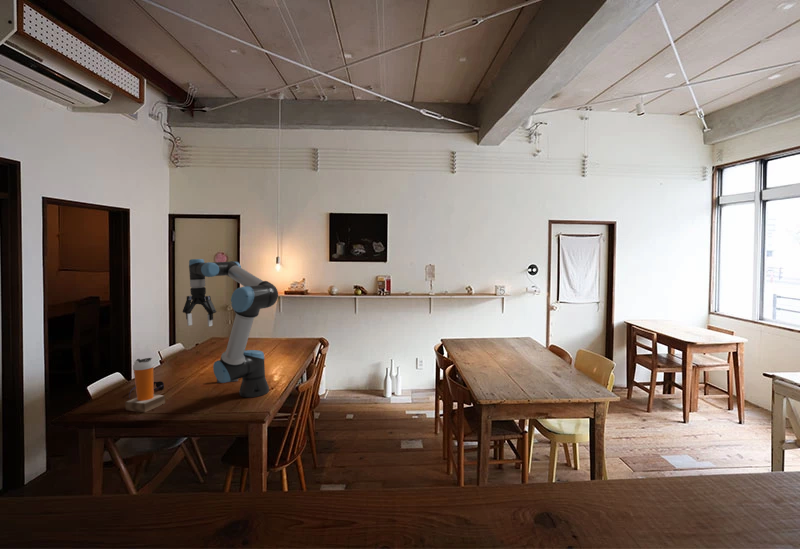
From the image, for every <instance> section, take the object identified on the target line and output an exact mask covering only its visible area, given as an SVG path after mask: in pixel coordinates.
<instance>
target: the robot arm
mask: <svg viewBox="0 0 800 549" xmlns="http://www.w3.org/2000/svg"><path fill="white" fill-rule="evenodd" d="M188 264H189V265H188V269H189V271H188V272H189V287H190V295H187V296H186V300H185V304H184V306H183V309H182V313H184V314H185V318H186V323H187V327H189V326H193V313H192V311H193V309H194V308H195V306H197V305H201V306H202V307H203V309H204V310H205V311H206V312H207V313H208V314H207V315H206V316H207V327H212V326H213V325H214V324H213V320H214V314H215V313H217V310H216V308H215V306H214V304H213V302H212V299H211V295H206V293H207V289H206V278H207V277H208V278H213V277H221V276H222V277H224V276H227V277H229V278H230V279H231V280H233V281H235V282H236V283H238V284H240V285H242V286H240V287H238V288H236V289H235V290H233V292H232V295H231V299H230V301H231V308H232V309H233V311H234V313H235V316H234V321H233V324H232V328H231V332H230V335H229V339H228V342H227V344H226V346H227V347H226V348H225V349H226V350H225V351H224V352H222V353H221V356H220V360H216V361H214V363H213V369H212V370H213V373H214V374H213V375H214V376H215V378H216V381H217V380H218V381H220V382H221V384H225V383H231V382H230V381H233V380H236V379H238V380H239V379H241V380H242V381H241V384H240V388H239V391H238V392H239V396H240V397H243V398H257V397H262V396H265V395H266V394H268V393H270V386H269V385H268V381H267V379H266V370H265V369H266V368H265V360H266V359H265V353H264V352H263V351H262V350H257V349H256V350H255V349H247V350H246V347H247V344H248V340H249V337H250V333H251V330H252V326H253V323H254V320H255V318H257V317H258V316H259V314H260V311H261V309H269V308H270V307H273V305H275V304H276V303H277V301H278V299H279V291H278V288H277V287H276V286H275V285H274V284H273V283H271V282H270V281H267V280H262V279H261V278H259V277H257V276H255V275H254V274H252V273H250V272H249V271H247V270H245V269H243V267H242V265H241V264H240V262H239V261H233V260H232V261H231V260H230V261H217V262H216V261H213V262H211V261H210V262H205V259H203V258H193V259H192V258H191V259H189V262H188Z"/></svg>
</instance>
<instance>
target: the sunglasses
mask: <svg viewBox="0 0 800 549" xmlns="http://www.w3.org/2000/svg"><path fill="white" fill-rule="evenodd" d="M154 386H155V387H156V388H155V387H154V391H156V390H164V389H165V384H164V382H163V381H161V380H160V381H154ZM133 390H136V386H134V387H133V388H131V389H130V391H129V396H128V399H130V398H131V392H133Z"/></svg>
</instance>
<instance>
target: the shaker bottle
mask: <svg viewBox="0 0 800 549" xmlns="http://www.w3.org/2000/svg"><path fill="white" fill-rule="evenodd" d="M152 359H153V358H152V357H147V358H146V357H145V358H141V359H140V358H137V359H136V360H134V364H133V365H132V370H133V374H134V383H135V384H134V385H135V387H136V388H135V391H136V392H135V393H136V398H137V400H139V401H144V400H149V399H152V398H153V397H154V395H155V390H154V389H155V385H154V382H155V381H154V379H155V378H154V367H155V364H154V361H152Z"/></svg>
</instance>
